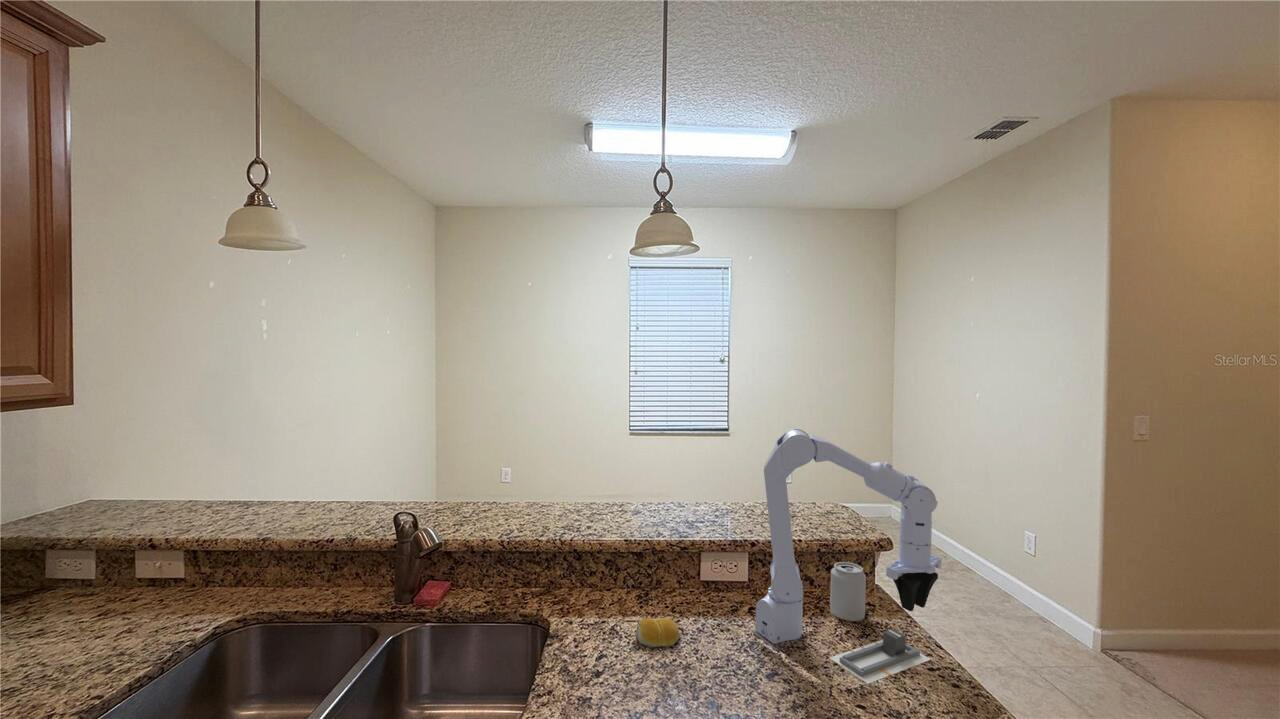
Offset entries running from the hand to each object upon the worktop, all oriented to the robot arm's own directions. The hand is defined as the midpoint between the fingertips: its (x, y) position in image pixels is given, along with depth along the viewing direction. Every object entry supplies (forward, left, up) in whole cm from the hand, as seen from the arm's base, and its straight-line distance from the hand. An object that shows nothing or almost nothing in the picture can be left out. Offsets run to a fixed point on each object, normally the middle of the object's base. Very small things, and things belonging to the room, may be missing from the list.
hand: (913, 607), depth 109 cm
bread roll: (-44, +27, -10) cm, 53 cm away
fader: (-6, 0, -8) cm, 10 cm away
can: (0, +16, -10) cm, 19 cm away
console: (-10, 0, -9) cm, 13 cm away
